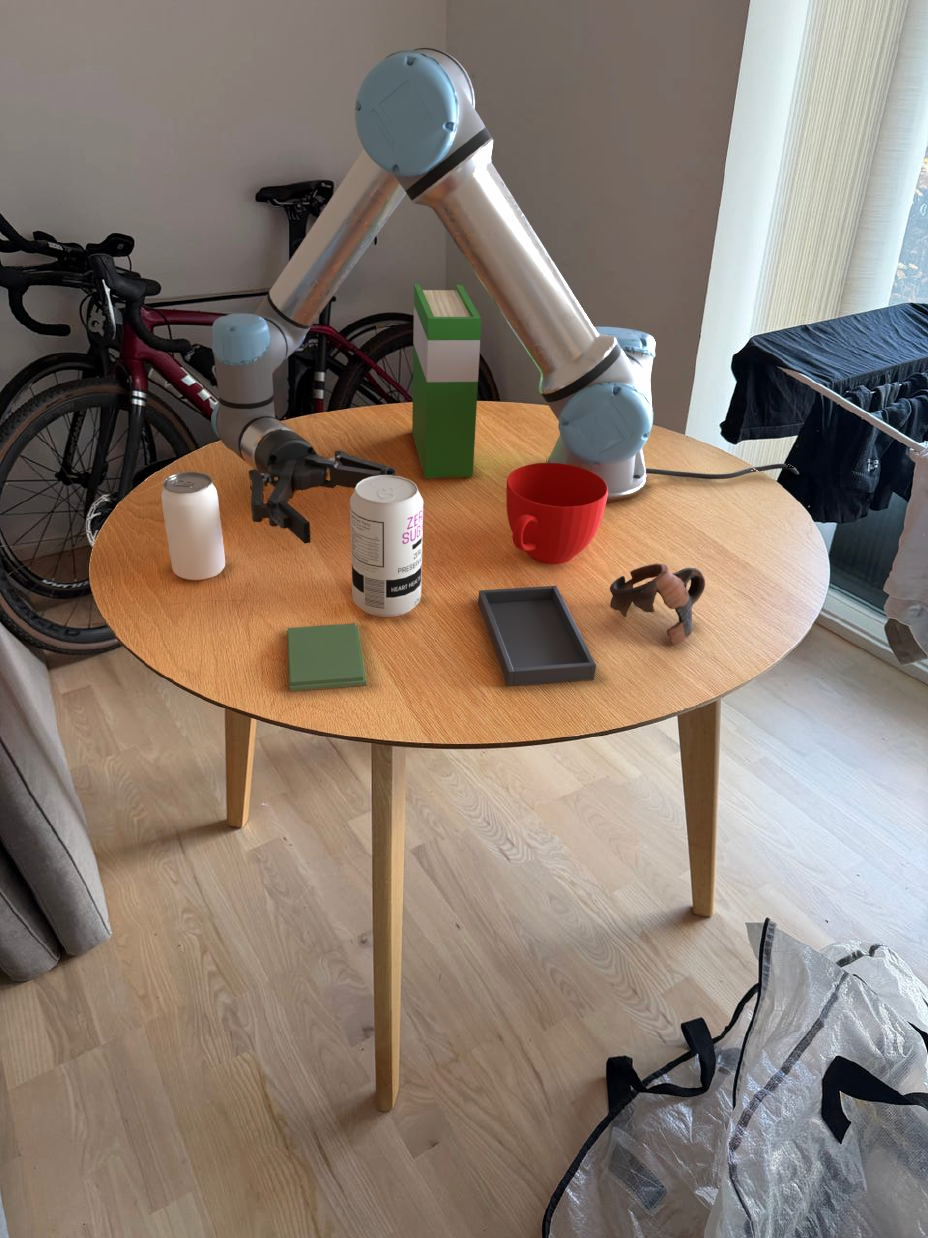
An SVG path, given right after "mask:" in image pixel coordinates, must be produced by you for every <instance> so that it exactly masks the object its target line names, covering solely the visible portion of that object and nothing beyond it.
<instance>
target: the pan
mask: <svg viewBox="0 0 928 1238" xmlns="http://www.w3.org/2000/svg"><path fill="white" fill-rule="evenodd" d="M477 605H478V609H479V611H480V614H481V617H482V619H483V623H484V625H485V628H486V630H487V633H488V635H489V638H490V642H491V644H492V647H493V650H494V653H495V655H496V658H497V661H498V664H499V667H500V669H501V672H502V675H503V678H504V680H505V683H506V686H507V687H508V688H509V687H519V686H521V687H522V686H533V685H534V686H535V685H545V684H557V683H558V684H559V683H570V682H571V683H572V682H582V681H594V680H595V677H596V670H597V663H596V662H595V659H594V658H593V656H592V655H593V654H592V653H591V651H590V650H589V647H588V645H587V644H586V641H585V639H584V638H583V636H582V634H581V631H580V629H579V628H578V626H577V624H576V622H575V619H574V617H573V616H572V614H571V612H570V610H569V608H568V606H567V603H566V601H565V600H564V598H563V595H562V594H561V592H560V590H559V587H558V586H557V585H544V586H542V585H541V586H528V587H526V586H525V587H511V588H497V589H495V588H494V589H480V590H478V597H477Z"/></svg>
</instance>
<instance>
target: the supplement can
mask: <svg viewBox="0 0 928 1238" xmlns="http://www.w3.org/2000/svg"><path fill="white" fill-rule="evenodd" d="M349 523H350V525H349V526H350V528H349V529H350V560H351V562H350V563H351V565H350V566H351V595H352V596H351V597H352V599H353V603H354V604H355V605H356V606H357V607H358V608H359V609H361V610H362V611H363V612H365V613H367V614H369V615H371V616H374V617H381V618H394V617H398V616H402V615H405V614H407V613H409V612H411V611H412V610H413V609H414V608H415V607H416V606H417V605H418V604H420V602H421V597H422V576H423V575H422V574H423V573H422V572H423V535H424V534H423V530H424V529H423V527H424V499H423V497H422V495H421V493H420V491H419V488H418V486H417V484H416V483H415V482H414V481H412V480H411V479H409V478H407V477H404V476H399V475H396V476H394V475H378V476H372V477H368V478H366V479H363V480H361V481H360V482H359V483H357V485H356V487H355V488H354V491H353V493H352V494H351V496H350V499H349Z"/></svg>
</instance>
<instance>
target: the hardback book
mask: <svg viewBox="0 0 928 1238" xmlns="http://www.w3.org/2000/svg"><path fill="white" fill-rule="evenodd" d="M481 335H482V317H481V315H480V313H479V312H478V310H477V308H476V306H475V305H474V303H473V301H472V299H471V298H470V296H469V294H468V293H467V291H466V289H465V288H464V286H463V284H455V289H423V288H422V286H421V284H413V337H412V338H413V339H412V340H413V344H412V345H413V346H412V347H413V351H412V412H411V413H412V415H411V417H412V418H411V419H412V420H411V421H412V422H411V424H412V425H411V432H412V436H413V440H414V445H415V448H416V451H417V455H418V459H419V462H420V465H421V470H422V474H423V477H424V479H437V478H439V479H440V478H441V479H442V478H473V477H474V465H475V464H474V462H475V446H476V445H475V444H476V426H477V425H476V424H477V405H478V391H479V390H478V388H479V387H478V386H479V372H480V371H479V369H480V351H481Z"/></svg>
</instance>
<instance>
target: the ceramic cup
mask: <svg viewBox="0 0 928 1238" xmlns="http://www.w3.org/2000/svg"><path fill="white" fill-rule="evenodd" d="M505 489H506V491H505V492H506V493H505V494H506V496H505V498H506V499H505V500H506V501H505V503H506V504H505V505H506V516H507V521H508V524H509V528H510V532H511V540H512V544H513V545H514V547H515V548H516V549H518V550H520V551H523V552H525V554H526V555H527V556H528V557H529V558H530V559H532V560H534V561H536V562H538V563H541V564H548V565H560V564H564V563H567V562H568V563H569V562H570V561H572V560H573V559H574V557H576V556H577V555H579V554H580V553H582V551H584V550H585V549H586V548H587V547H588V546H589V544H590V543H591V542H592V540H593V539H594V538H595V536H596V534H597V533H598V530H599V528H600V525H601V522H602V520H603V516H604V512H605V509H606V504H607V502H606V501H607V495H608V488H607V484H606V483H605V481H604V480H603V479H602V478H601V477H600V476H598V475H597V474H595V473H593V472H591V471H589V470H587V469H584V468H581V467H578V466H573V465H568V464H562V463H546V462H537V463H530V464H526V465H523V466H521V467H518V468H516V469H514V470H513V471H512V472H510V473H509V474H508V476H507V478H506V488H505Z"/></svg>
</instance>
